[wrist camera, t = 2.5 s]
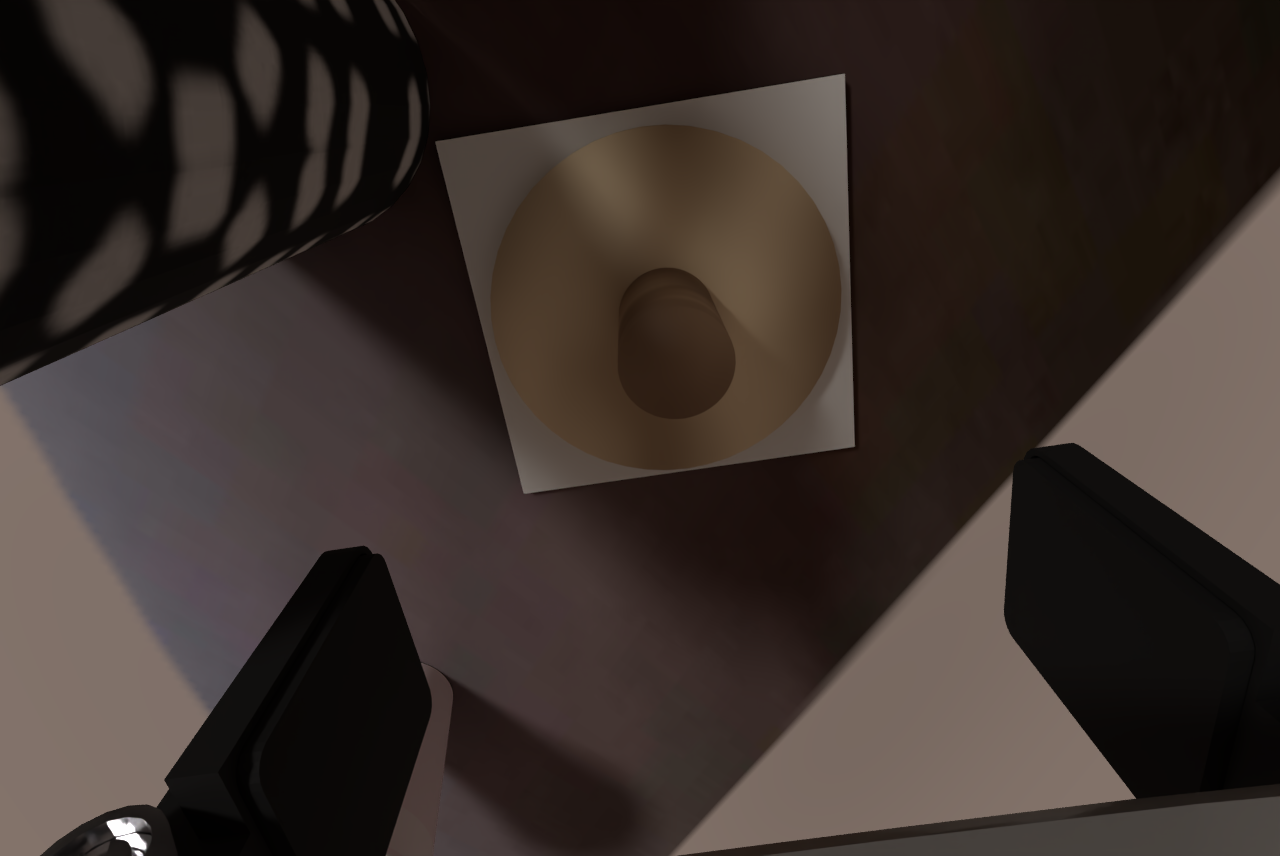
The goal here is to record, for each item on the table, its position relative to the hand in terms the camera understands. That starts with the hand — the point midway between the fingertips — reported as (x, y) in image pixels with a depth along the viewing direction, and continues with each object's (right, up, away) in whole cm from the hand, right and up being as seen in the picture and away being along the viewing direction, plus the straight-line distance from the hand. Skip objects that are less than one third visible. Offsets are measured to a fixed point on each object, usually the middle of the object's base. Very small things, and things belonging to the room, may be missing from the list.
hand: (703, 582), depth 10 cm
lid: (0, +6, +12) cm, 14 cm away
